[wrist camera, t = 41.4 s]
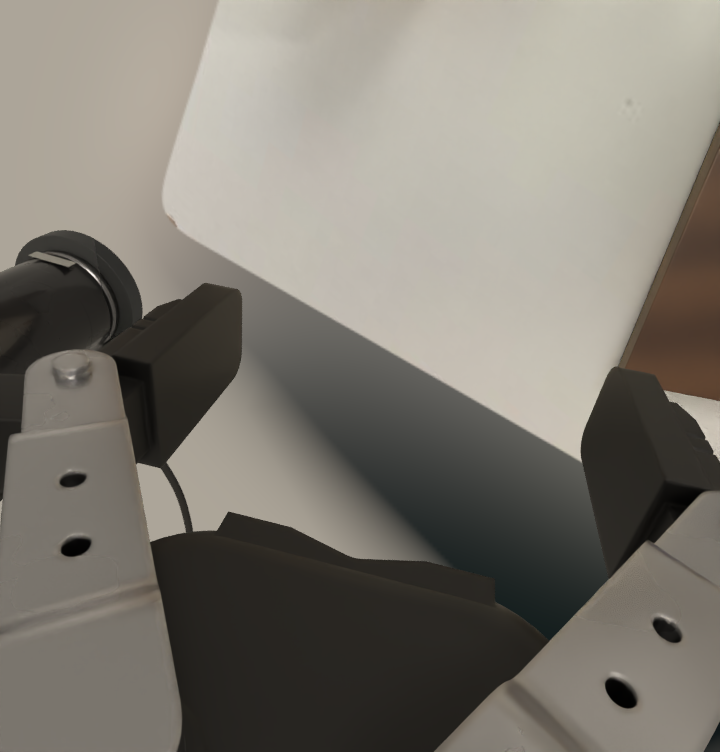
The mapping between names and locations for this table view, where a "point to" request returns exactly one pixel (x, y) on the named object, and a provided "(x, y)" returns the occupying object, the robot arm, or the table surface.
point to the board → (686, 297)
